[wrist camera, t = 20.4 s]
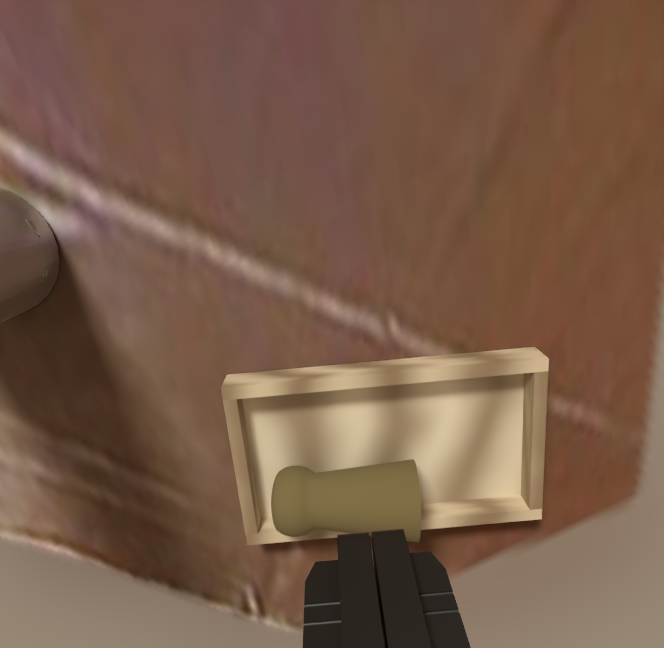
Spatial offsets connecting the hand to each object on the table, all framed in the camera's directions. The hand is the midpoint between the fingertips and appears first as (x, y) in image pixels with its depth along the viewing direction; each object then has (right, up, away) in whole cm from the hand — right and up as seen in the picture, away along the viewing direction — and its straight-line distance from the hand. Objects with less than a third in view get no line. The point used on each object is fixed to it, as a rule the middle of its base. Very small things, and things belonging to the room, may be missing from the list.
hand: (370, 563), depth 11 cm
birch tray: (+3, -4, +30) cm, 30 cm away
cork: (+6, -8, +27) cm, 29 cm away
